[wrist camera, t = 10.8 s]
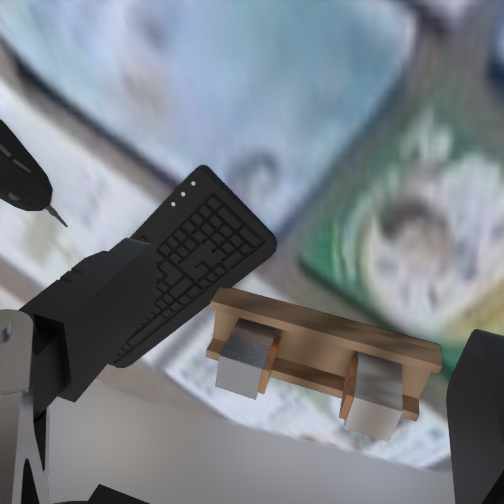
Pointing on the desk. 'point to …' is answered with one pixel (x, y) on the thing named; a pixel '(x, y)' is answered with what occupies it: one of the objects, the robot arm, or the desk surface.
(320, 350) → the rail
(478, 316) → the desk surface
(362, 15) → the desk surface
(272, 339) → the gray metallic block
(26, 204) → the gaming mouse
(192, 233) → the keyboard
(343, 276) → the desk surface
